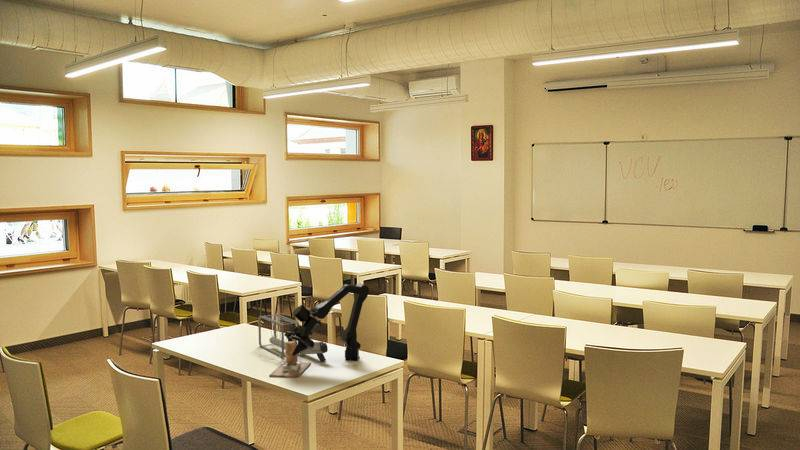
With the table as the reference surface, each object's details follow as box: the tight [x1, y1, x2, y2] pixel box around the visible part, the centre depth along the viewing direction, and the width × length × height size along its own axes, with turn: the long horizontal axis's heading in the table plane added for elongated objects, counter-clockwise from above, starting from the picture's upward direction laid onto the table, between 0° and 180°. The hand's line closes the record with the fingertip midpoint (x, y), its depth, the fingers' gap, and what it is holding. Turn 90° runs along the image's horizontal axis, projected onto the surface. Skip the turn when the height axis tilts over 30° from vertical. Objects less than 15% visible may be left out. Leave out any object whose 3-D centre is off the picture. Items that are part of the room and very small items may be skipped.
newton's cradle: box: [257, 313, 300, 358], centre depth 330 cm, size 30×10×18 cm, turn 37°
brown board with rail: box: [268, 361, 312, 379], centre depth 295 cm, size 14×22×3 cm, turn 172°
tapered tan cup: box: [285, 340, 299, 366], centre depth 294 cm, size 6×6×12 cm
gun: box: [297, 340, 329, 363], centre depth 316 cm, size 2×25×10 cm, turn 44°
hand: (289, 354), depth 293 cm, fingers closed on tapered tan cup, 6 cm apart
